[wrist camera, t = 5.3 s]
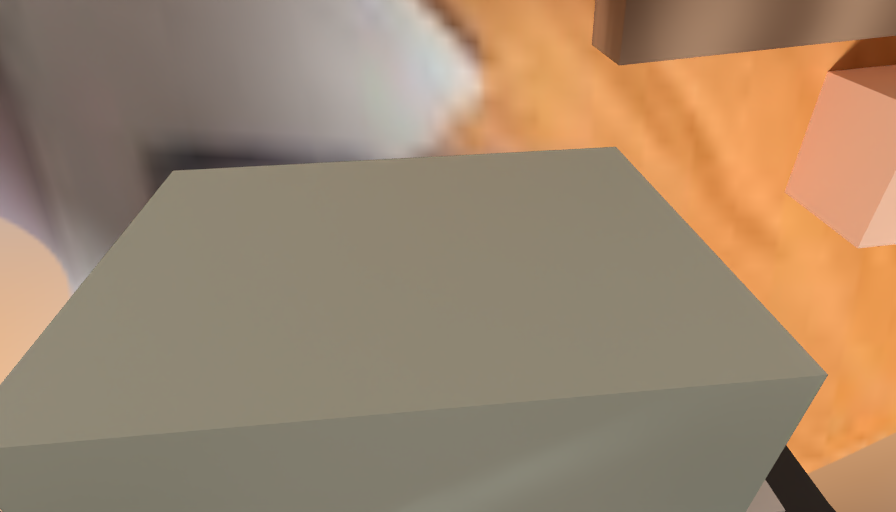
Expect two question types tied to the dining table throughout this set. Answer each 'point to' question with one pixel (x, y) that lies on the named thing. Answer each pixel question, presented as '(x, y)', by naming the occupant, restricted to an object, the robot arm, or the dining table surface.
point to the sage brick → (405, 350)
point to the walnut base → (731, 26)
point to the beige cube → (851, 156)
